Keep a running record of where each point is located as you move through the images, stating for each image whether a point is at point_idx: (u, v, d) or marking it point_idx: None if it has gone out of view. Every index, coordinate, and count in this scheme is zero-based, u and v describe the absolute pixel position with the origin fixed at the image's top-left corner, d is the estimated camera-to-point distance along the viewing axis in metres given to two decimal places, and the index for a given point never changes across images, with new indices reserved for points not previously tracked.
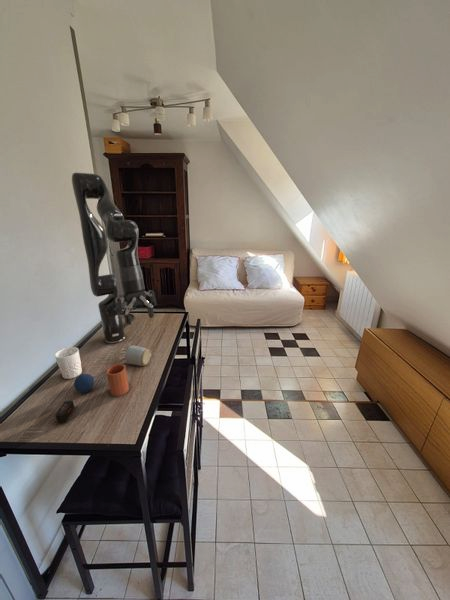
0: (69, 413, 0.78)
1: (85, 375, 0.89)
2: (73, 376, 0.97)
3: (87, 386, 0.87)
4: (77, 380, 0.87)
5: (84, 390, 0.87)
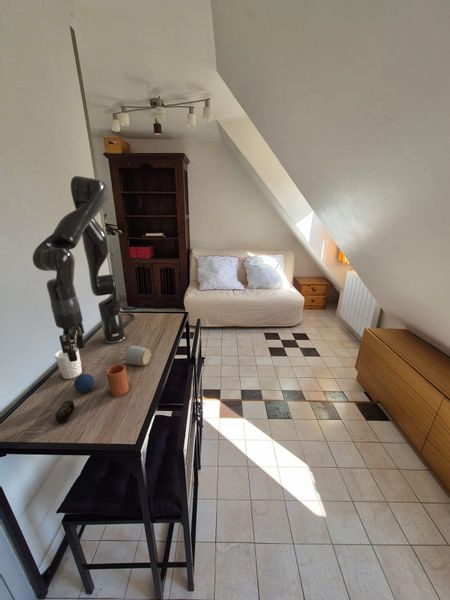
0: (69, 413, 0.78)
1: (85, 375, 0.89)
2: (73, 376, 0.97)
3: (87, 386, 0.87)
4: (77, 380, 0.87)
5: (84, 390, 0.87)
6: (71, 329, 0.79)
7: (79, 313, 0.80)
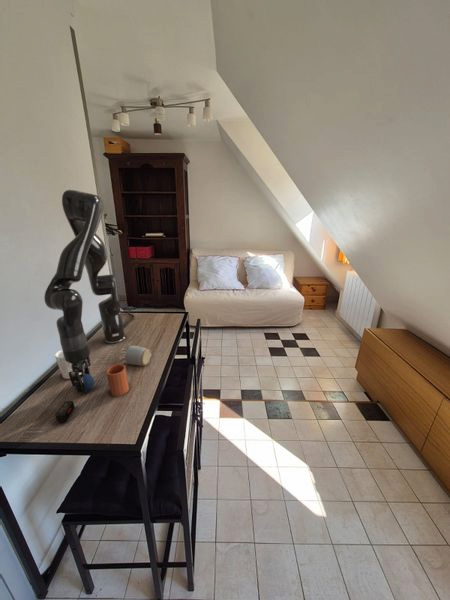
0: (69, 413, 0.78)
1: (85, 375, 0.89)
2: None
3: (87, 386, 0.87)
4: None
5: None
6: (79, 363, 0.84)
7: (86, 347, 0.85)
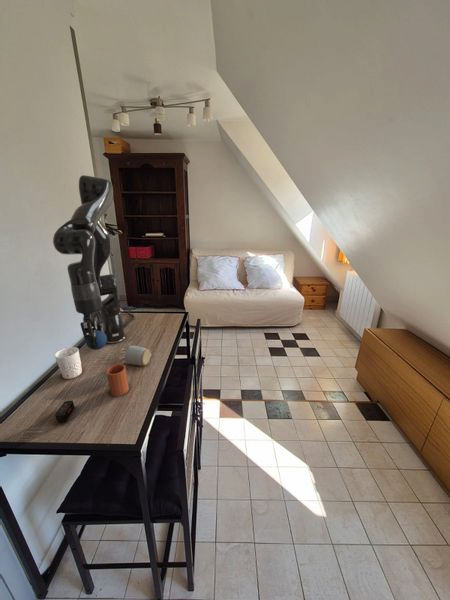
0: (69, 413, 0.78)
1: (97, 331, 0.82)
2: (73, 376, 0.97)
3: (99, 342, 0.81)
4: None
5: None
6: (91, 315, 0.77)
7: (99, 299, 0.78)
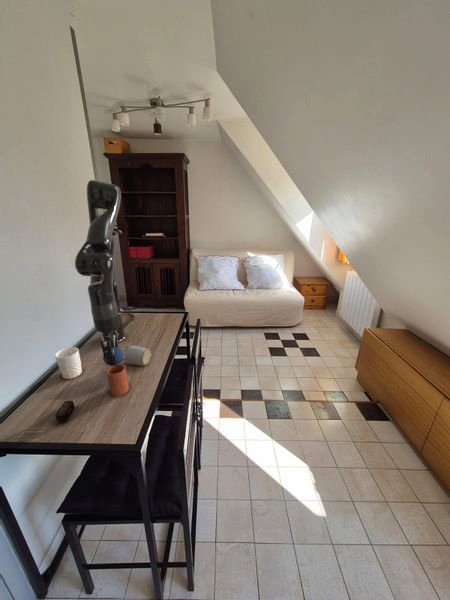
0: (69, 413, 0.78)
1: (115, 348, 0.85)
2: (73, 376, 0.97)
3: (117, 359, 0.83)
4: None
5: None
6: (110, 333, 0.80)
7: (117, 317, 0.81)
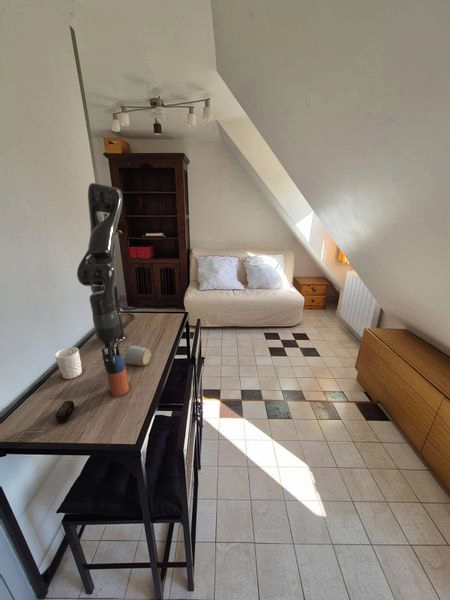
0: (69, 413, 0.78)
1: (116, 356, 0.86)
2: (73, 376, 0.97)
3: (118, 367, 0.84)
4: None
5: None
6: (111, 342, 0.81)
7: (119, 326, 0.82)
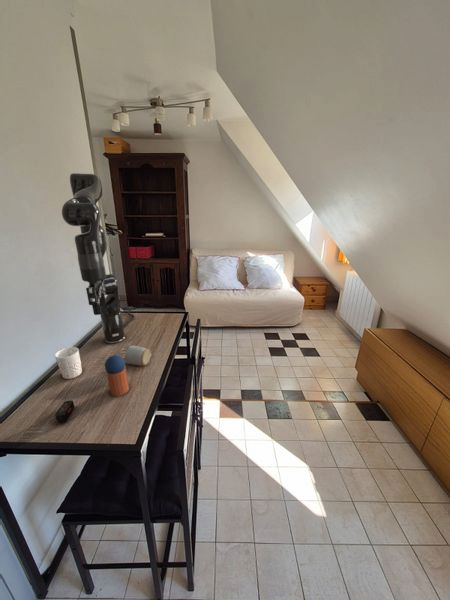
0: (69, 413, 0.78)
1: (116, 356, 0.86)
2: (73, 376, 0.97)
3: (118, 367, 0.84)
4: (108, 361, 0.84)
5: (115, 371, 0.85)
6: (96, 283, 0.84)
7: (103, 269, 0.85)
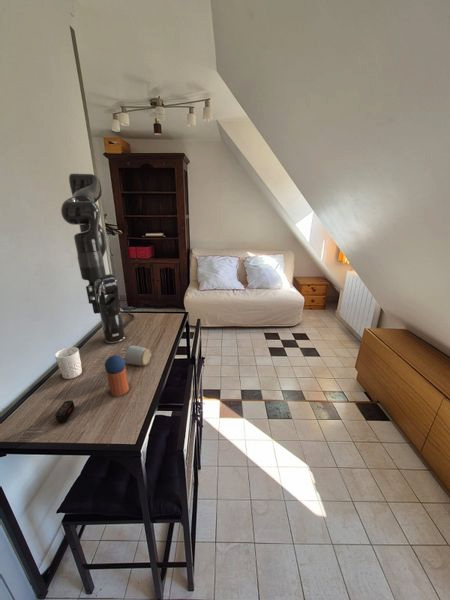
0: (69, 413, 0.78)
1: (116, 356, 0.86)
2: (73, 376, 0.97)
3: (118, 367, 0.84)
4: (108, 361, 0.84)
5: (115, 371, 0.85)
6: (96, 282, 0.84)
7: (103, 267, 0.85)
